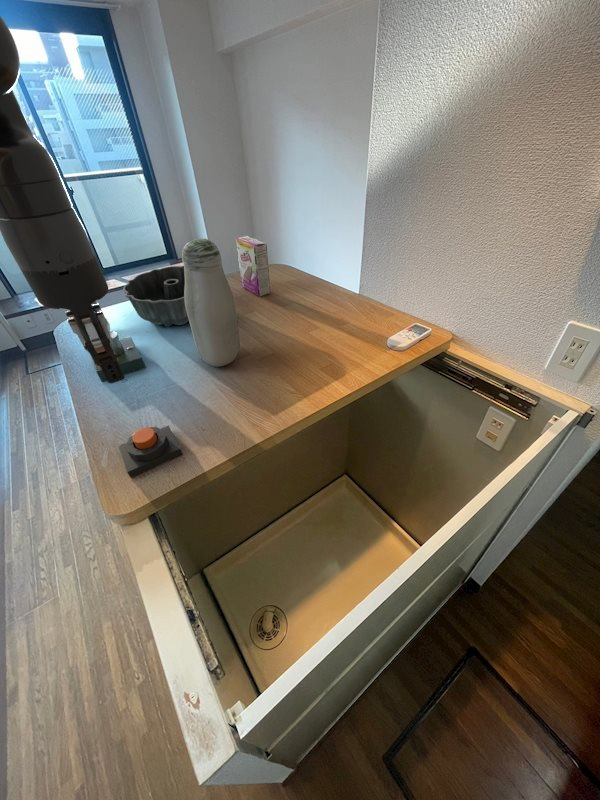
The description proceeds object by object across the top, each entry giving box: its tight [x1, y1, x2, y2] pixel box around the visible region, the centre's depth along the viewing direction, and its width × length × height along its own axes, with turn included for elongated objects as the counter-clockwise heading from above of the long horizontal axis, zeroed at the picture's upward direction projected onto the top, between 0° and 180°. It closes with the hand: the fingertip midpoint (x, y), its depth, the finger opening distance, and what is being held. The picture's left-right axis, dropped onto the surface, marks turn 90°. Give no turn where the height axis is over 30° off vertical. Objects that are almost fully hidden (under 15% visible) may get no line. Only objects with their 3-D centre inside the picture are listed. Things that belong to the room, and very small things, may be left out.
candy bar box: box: [235, 235, 271, 298], centre depth 108 cm, size 11×5×16 cm, turn 40°
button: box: [132, 427, 157, 449], centre depth 56 cm, size 4×4×2 cm
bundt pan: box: [122, 265, 189, 327], centre depth 98 cm, size 26×26×10 cm
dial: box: [109, 331, 124, 356], centre depth 77 cm, size 4×4×5 cm
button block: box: [118, 425, 183, 479], centre depth 58 cm, size 9×7×4 cm
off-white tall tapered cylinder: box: [181, 238, 241, 368], centre depth 72 cm, size 10×10×28 cm
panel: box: [90, 336, 147, 383], centre depth 80 cm, size 12×10×3 cm
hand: (116, 379), depth 48 cm, fingers closed
